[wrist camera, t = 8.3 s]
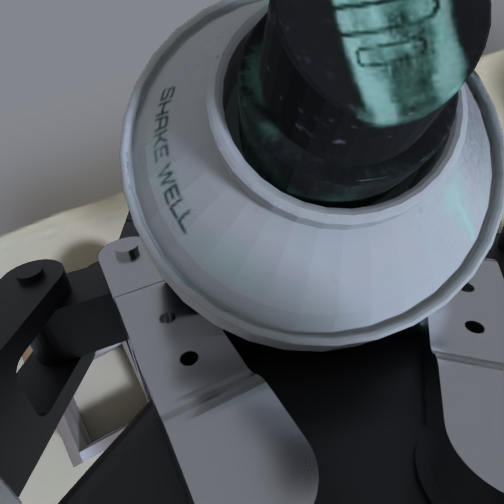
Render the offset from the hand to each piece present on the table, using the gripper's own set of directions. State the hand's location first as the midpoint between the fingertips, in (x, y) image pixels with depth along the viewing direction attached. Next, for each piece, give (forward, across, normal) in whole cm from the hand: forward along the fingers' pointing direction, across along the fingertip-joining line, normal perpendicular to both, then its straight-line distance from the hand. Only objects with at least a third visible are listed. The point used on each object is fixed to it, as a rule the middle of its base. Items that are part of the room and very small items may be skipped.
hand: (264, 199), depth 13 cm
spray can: (+6, 0, +9) cm, 11 cm away
